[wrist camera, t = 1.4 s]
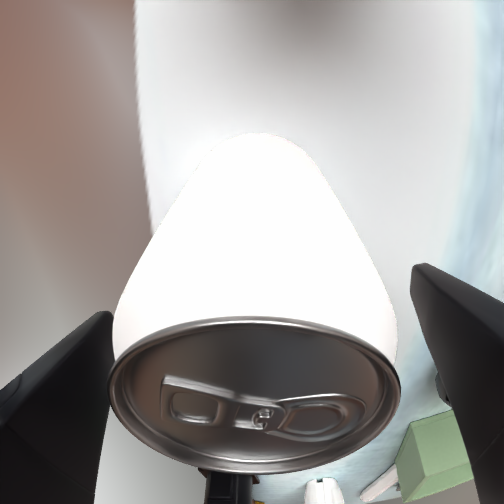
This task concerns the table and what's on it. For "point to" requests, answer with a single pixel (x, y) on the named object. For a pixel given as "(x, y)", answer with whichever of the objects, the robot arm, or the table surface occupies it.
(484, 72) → the table surface
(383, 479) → the marker
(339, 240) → the can
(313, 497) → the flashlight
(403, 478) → the bin
